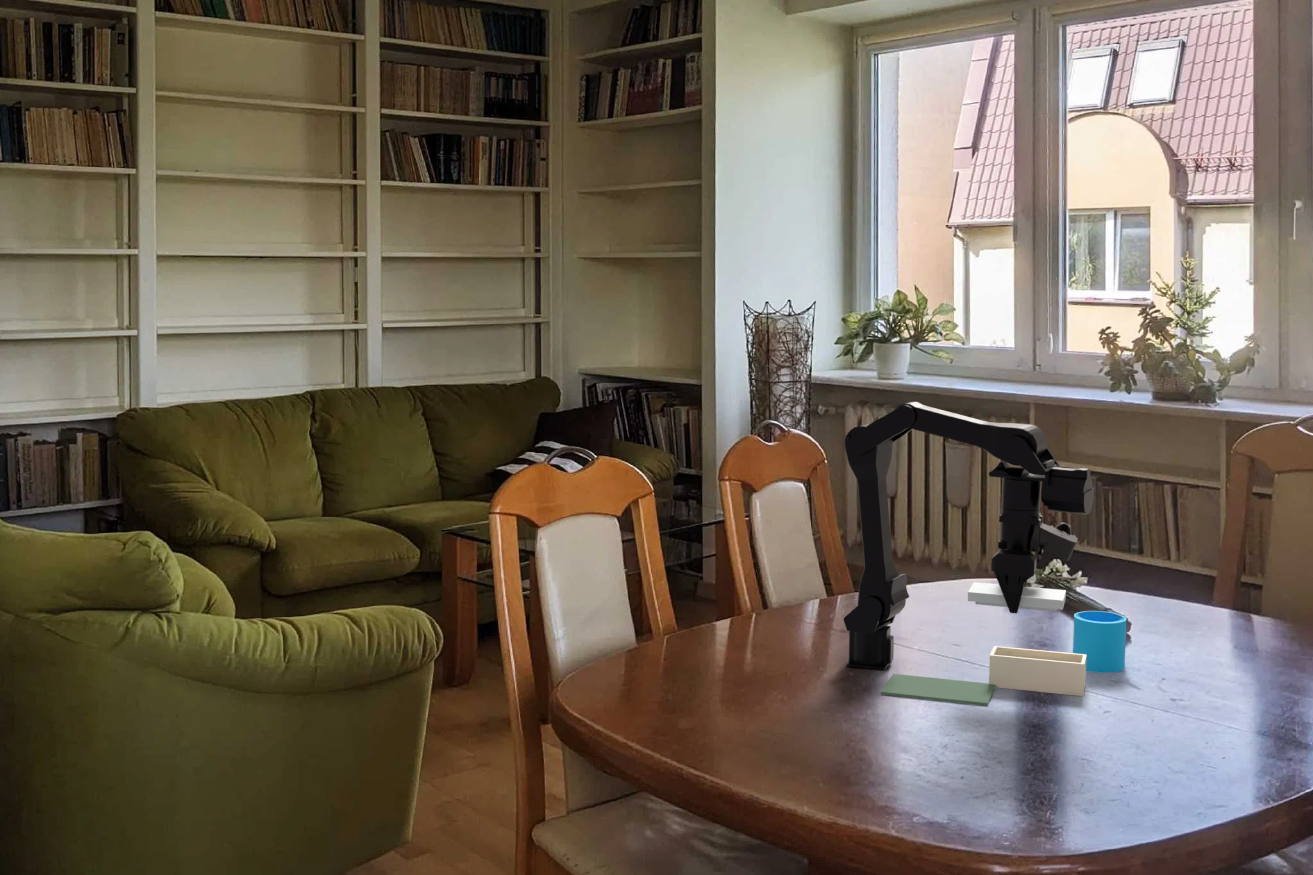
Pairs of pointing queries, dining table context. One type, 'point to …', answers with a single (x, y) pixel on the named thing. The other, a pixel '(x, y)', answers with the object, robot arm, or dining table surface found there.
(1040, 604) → the lid
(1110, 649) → the mug
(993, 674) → the pencil box
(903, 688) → the felt mat
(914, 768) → the dining table surface
